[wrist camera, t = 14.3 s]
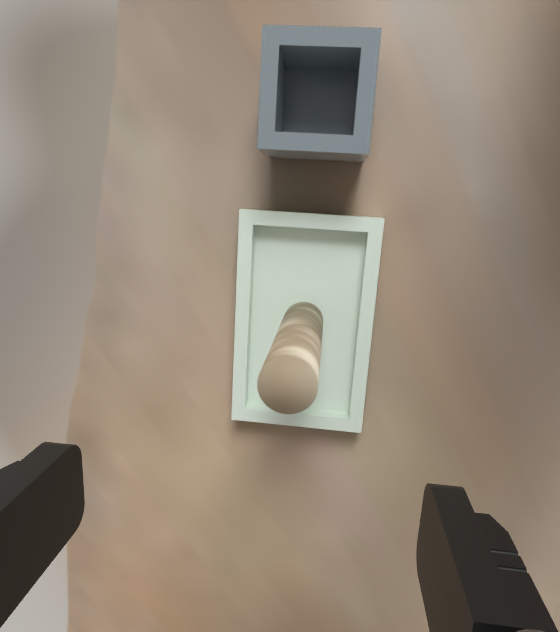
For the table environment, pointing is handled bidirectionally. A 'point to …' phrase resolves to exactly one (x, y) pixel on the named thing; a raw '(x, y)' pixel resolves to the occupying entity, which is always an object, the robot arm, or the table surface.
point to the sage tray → (313, 287)
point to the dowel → (293, 361)
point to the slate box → (317, 91)
